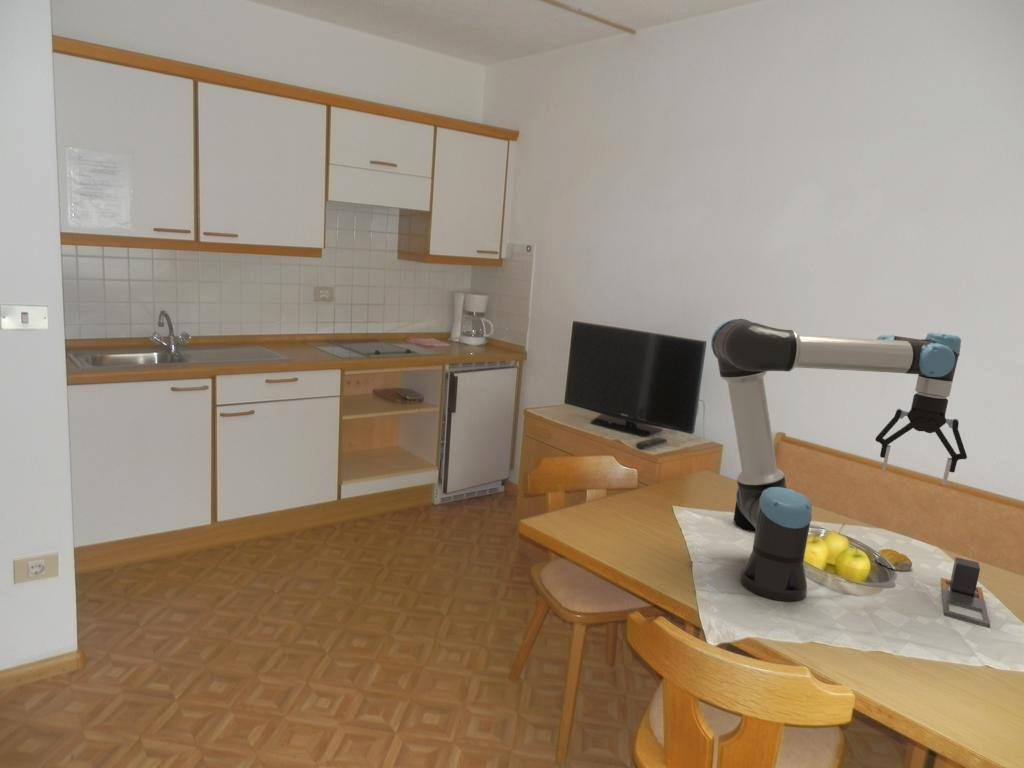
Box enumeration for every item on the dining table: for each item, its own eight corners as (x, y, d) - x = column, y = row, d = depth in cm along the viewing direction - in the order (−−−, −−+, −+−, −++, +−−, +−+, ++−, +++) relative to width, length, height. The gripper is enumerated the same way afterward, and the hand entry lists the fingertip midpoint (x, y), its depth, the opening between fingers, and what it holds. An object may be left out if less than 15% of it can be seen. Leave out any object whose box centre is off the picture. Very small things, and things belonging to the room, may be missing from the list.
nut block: (973, 599, 177) (980, 568, 175) (950, 593, 179) (956, 563, 178) (972, 592, 181) (978, 562, 180) (949, 586, 183) (955, 557, 182)
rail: (989, 627, 161) (990, 624, 161) (944, 615, 166) (944, 612, 166) (980, 590, 182) (981, 587, 182) (940, 580, 187) (940, 577, 186)
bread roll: (892, 558, 200) (894, 544, 200) (916, 572, 192) (919, 558, 191) (867, 558, 198) (869, 544, 198) (890, 572, 190) (893, 558, 189)
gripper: (989, 403, 174) (969, 486, 178) (877, 384, 186) (860, 462, 190) (992, 407, 168) (971, 492, 171) (875, 387, 180) (858, 467, 183)
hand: (913, 477), depth 180 cm, fingers open, 13 cm apart
